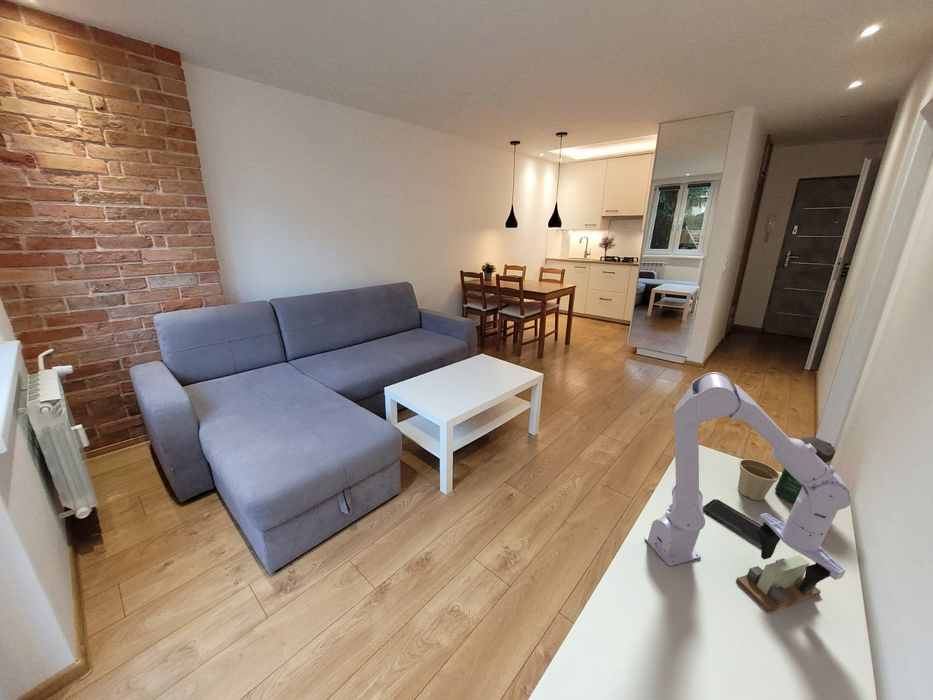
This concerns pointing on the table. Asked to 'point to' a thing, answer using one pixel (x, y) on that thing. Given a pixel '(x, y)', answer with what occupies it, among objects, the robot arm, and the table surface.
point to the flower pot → (756, 478)
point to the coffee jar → (788, 484)
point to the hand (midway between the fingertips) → (784, 572)
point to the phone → (734, 520)
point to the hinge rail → (765, 598)
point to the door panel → (782, 574)
